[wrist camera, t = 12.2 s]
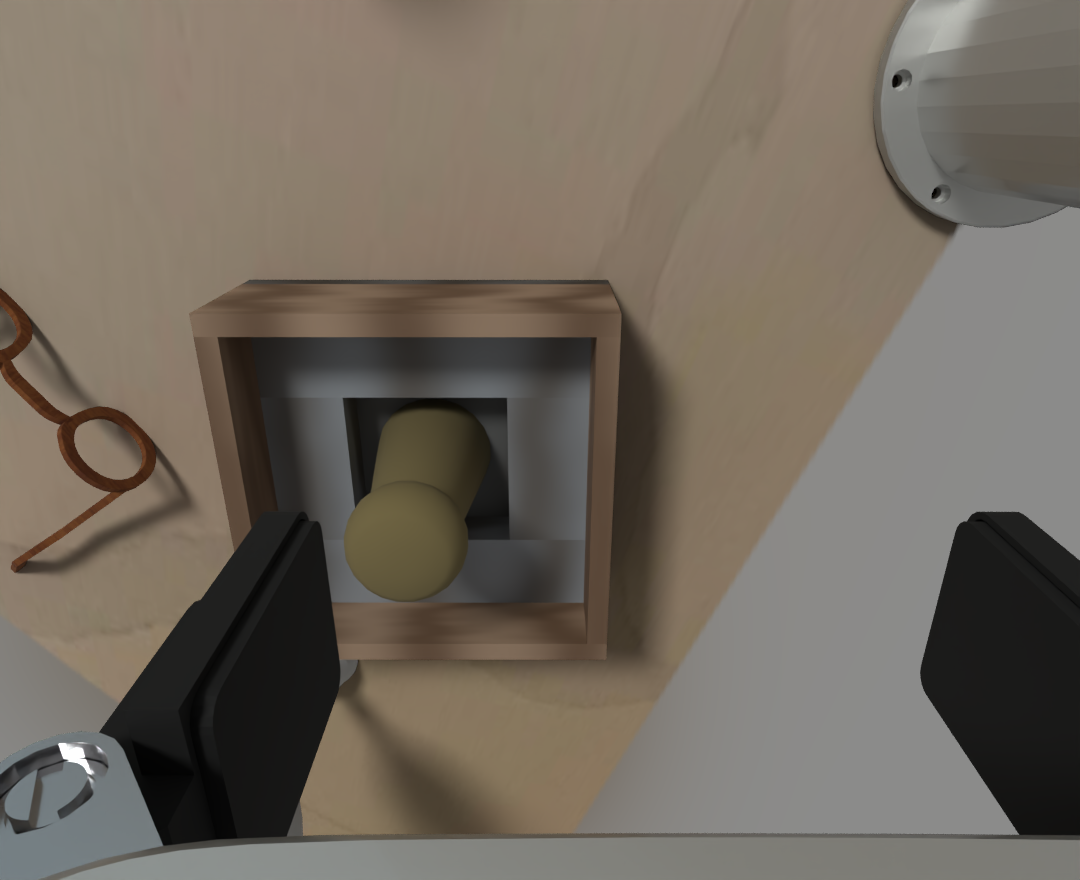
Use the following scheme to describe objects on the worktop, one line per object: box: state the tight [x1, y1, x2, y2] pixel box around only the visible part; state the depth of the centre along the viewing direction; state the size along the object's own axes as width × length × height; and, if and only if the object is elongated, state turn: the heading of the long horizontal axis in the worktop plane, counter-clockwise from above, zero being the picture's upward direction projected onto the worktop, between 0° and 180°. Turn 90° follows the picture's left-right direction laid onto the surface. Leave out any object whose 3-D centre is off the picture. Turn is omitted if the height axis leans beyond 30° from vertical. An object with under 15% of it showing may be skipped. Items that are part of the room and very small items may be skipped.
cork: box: [344, 399, 491, 602], centre depth 35 cm, size 6×6×11 cm
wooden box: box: [189, 280, 622, 660], centre depth 38 cm, size 18×18×7 cm
